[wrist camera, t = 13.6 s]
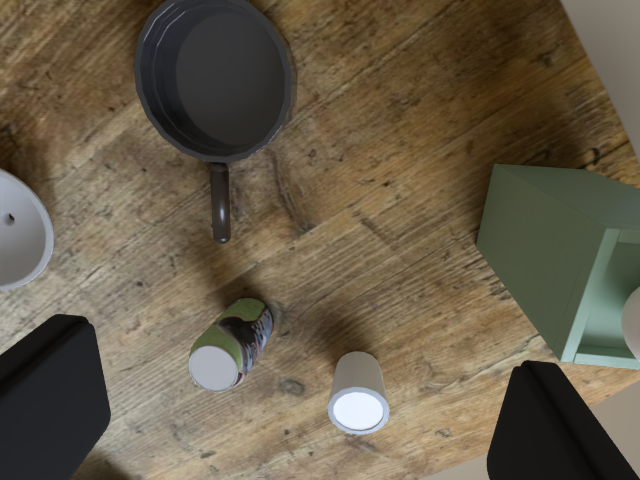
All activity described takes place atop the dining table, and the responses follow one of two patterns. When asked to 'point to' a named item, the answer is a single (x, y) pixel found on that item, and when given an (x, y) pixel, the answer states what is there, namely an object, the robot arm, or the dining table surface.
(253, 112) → the pan
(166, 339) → the dining table surface
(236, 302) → the beverage can
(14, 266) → the dish
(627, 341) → the egg
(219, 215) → the pan handle
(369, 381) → the white cylinder
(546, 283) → the stand
